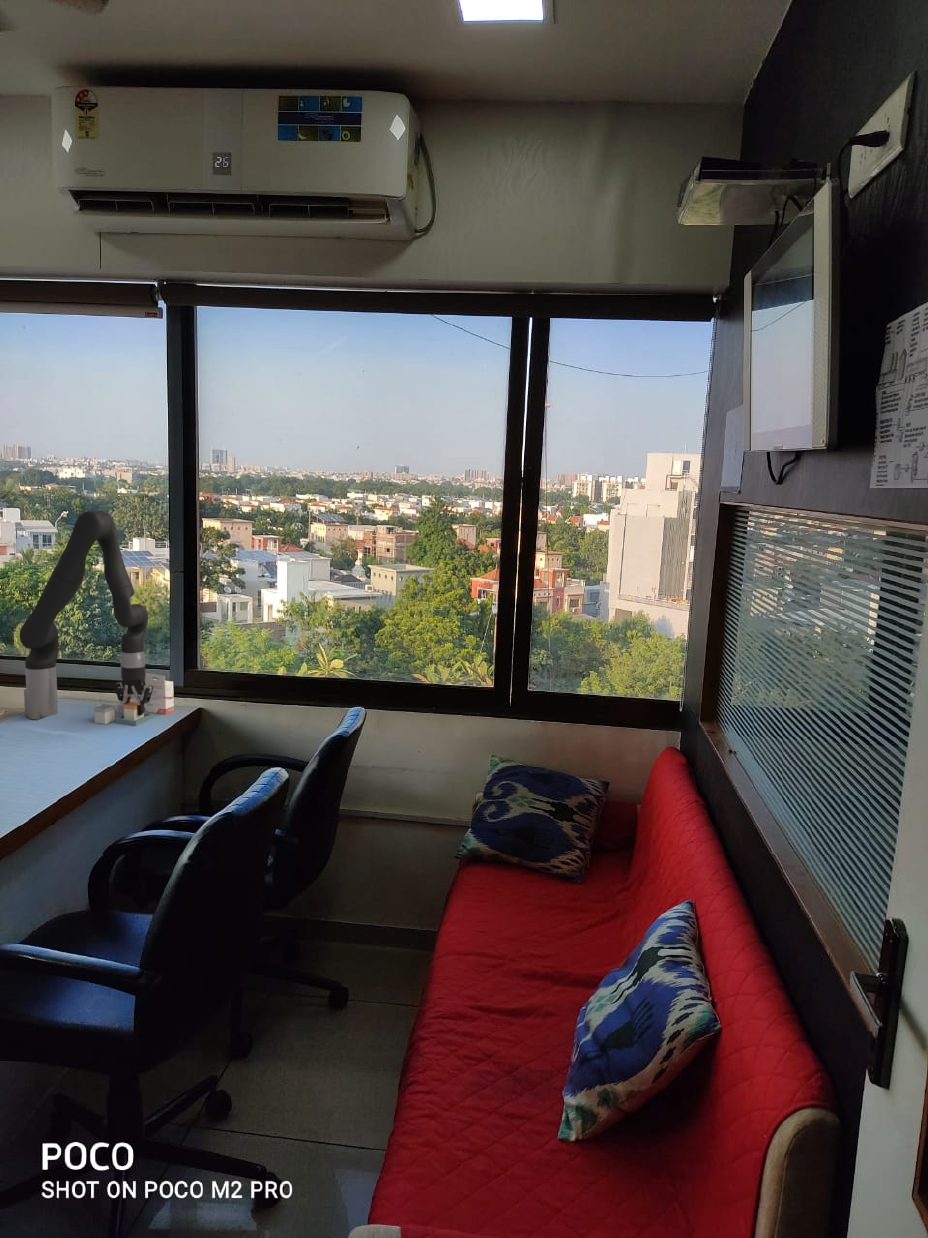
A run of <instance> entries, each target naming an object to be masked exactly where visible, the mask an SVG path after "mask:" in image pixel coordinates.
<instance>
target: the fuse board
mask: <svg viewBox="0 0 928 1238" xmlns="http://www.w3.org/2000/svg"><path fill="white" fill-rule="evenodd" d="M132 701H136V702H137V700H136V699H135V697H134V695H132V696H131V700H130V702H132ZM119 702H120V703H117V704H116V705H113V704H107V703H104V704H101V705H98V706H95V707H94V708H93V712H94V720H92V721H90V722H89V723H91V724H98V725H105V726H110V725H111V724H115V718H117V717H119V716H122V715H124V703H123V701H119ZM116 708H117V709H116Z"/></svg>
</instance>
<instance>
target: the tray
mask: <svg viewBox="0 0 928 1238" xmlns="http://www.w3.org/2000/svg"><path fill="white" fill-rule="evenodd" d="M153 719H154V713H151V712H144V717H143V718H140V719H138V720H136V721H134V720H127V719H124V715H122V716H119V717H117V718H115V722H114V724H120V725H127V726H135V727H137V726H139V725H142V724H143V723H146V722H148V721H152V720H153Z"/></svg>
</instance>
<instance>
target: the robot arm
mask: <svg viewBox="0 0 928 1238" xmlns="http://www.w3.org/2000/svg"><path fill="white" fill-rule="evenodd" d="M96 541H97V544H98V545H99V547H100V549H101V552H102V556H103V571H104V578H105V581H106V584H107V587H108V589H109V592H110V594H111V597H112V606H113V607H112V608H113V614H114V617H115V621H116V622H117V624H118V625H120V626H121V627H122V628H125V629H127V631H126V632H125V633H123V635H122V636H121V639H120V640H121V641H120V646H121V647H120V650H121V652H120V653H121V654H120V676H121V677H120V678H121V679H122V680H121V681H119V682H116V683H114V684H113V686H114V690H115V694H116V696H117V700H118V701H119V702H120V701H123V703H124V705H125V704H127V703H130V700H131V696H132V695H134V697H135V699H136V700H137V704H138V705H137V715H138V716H141V715H143V713H145V703H148V702H149V701H150V698H151V694H152V691H153V687H152V686H150V687H149V686H147V685H146V683H145V678H146V655H145V635H146V631H147V626H148V623H149V622H148V620H149V614H148V611H147V608H146V607H145V606H144V605H143V604H141V603H134V604H132V603H131V597H133V596H134V595H135V590H134V587H133V584H132V582H131V578H130V576H129V574H128V571H127V569H126V568H127V567H126V564H125V563H124V559H123V555H122V551H121V547H120V542H119V538H118V534H117V529H116V523H115V521H114V518H113V516H111V515H110V514H109V513H108V512H105V511H100V510H87V511H86V510H85V511H84V512H82V513H81V514H80V515H79V516H77V519H76V521H75V522H74V526H73V527H72V531H71V534H70V537H69V538H68V541H67V544H66V546H65V548H64V550H63V552H62V553H61V555H60V558H59V559H58V562H57V564H56V565H55V567H54V568H53V570H52V573H51V574H50V576H49V578H48V580H47V583H46V585H45V586H44V589H43V590H42V592H41V594H40V597H39V599H38V600H37V602H36V605H35V606H34V608H33V610H32V612H31V613H30V614H29V616H28V617H27V619H26V620H25V622H24V623H23V624H22V626H21V627H20V630H19V640H20V643H21V645H22V646H23V647H24V648H26V649H29V650H30V651H29V653H28V655H27V657H26V658H25V660H24V666H25V668H24V669H25V688H24V689H23V699H24V700H23V701H24V702H23V703H24V716H25V717H27V718H28V719H29V720H38V721H39V720H43V719H45V718H48V717H52V716H56V715H58V713H59V710H58V709H59V706H58V702H59V701H58V683H57V682H58V681H57V676H58V675H57V659H58V655H59V632H58V631H59V630H58V628H57V625H56V623H55V620H56V618H57V617H58V615H59V614H60V613H61V612H62V610H63V609H64V608H65V607H66V606H67V605H68V604H69V603H70V602H71V601H72V599H73V598H74V597H75V596H76V594H77V592H78V590H79V588H80V587H81V584H82V583H83V581H84V578H85V574H86V561H87V556H88V554H89V552H90V550H91V549H92V547H93V545H94V543H95V542H96Z"/></svg>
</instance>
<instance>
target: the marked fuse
mask: <svg viewBox="0 0 928 1238" xmlns="http://www.w3.org/2000/svg"><path fill="white" fill-rule="evenodd" d="M137 705H138V704H137V702H136V701H132V702H130V703H127V704H125V705H124V719H127V720H134V721H136V720H138V719H141V718H143V717H144V713H145V712H144V713H143V715H141V716H138V715H137Z"/></svg>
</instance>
